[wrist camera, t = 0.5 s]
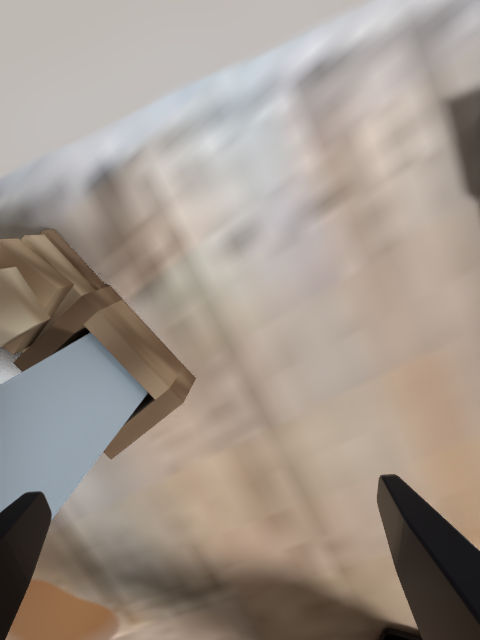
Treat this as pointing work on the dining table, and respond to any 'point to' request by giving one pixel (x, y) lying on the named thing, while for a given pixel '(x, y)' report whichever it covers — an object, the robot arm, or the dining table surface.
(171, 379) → the rack
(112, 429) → the light blue tall bar
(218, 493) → the dining table surface
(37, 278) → the offcut stack
